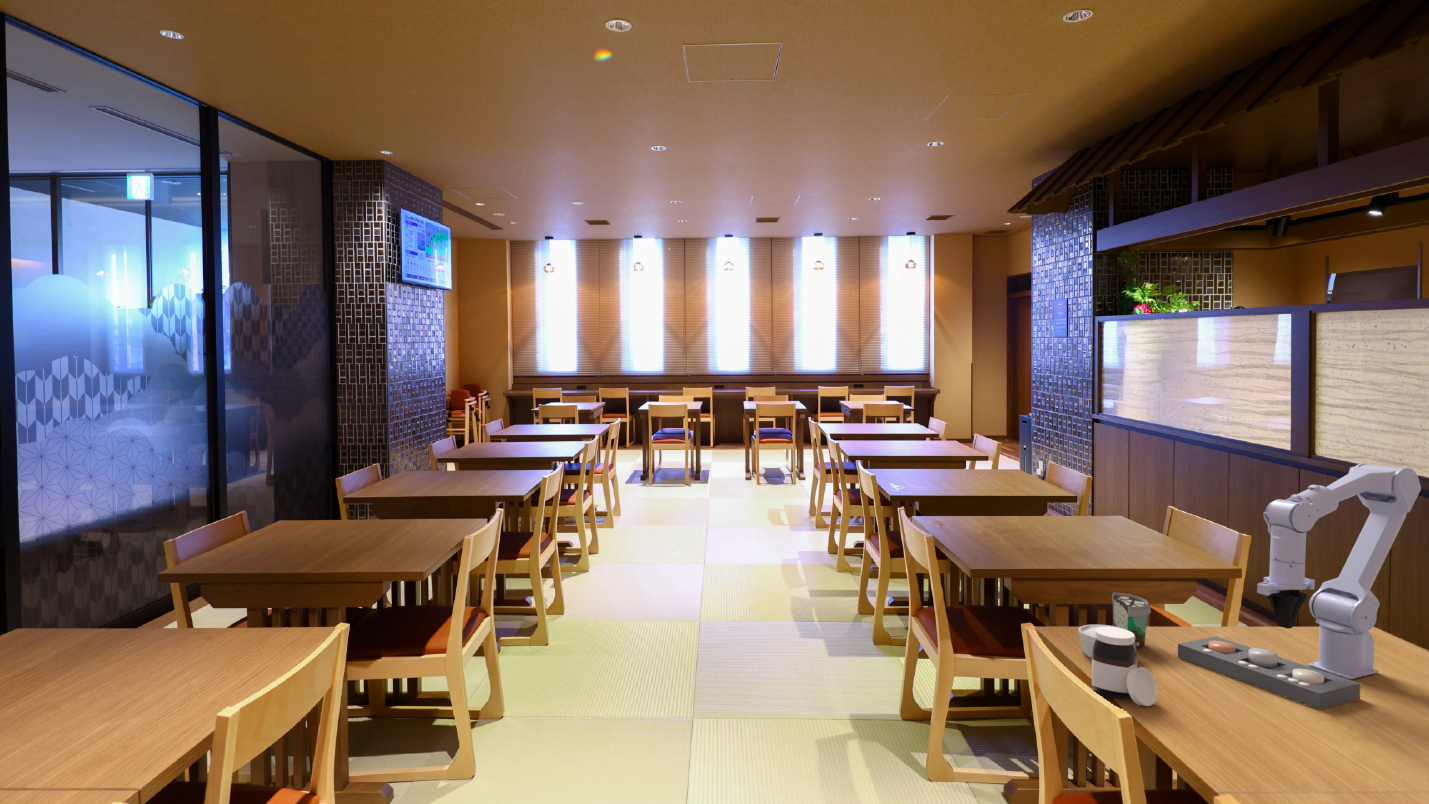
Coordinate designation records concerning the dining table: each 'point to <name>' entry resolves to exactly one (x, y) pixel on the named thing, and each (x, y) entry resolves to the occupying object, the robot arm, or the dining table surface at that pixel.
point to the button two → (1262, 657)
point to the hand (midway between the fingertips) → (1284, 626)
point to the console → (1271, 674)
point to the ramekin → (1089, 637)
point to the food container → (1131, 615)
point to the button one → (1222, 647)
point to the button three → (1308, 676)
